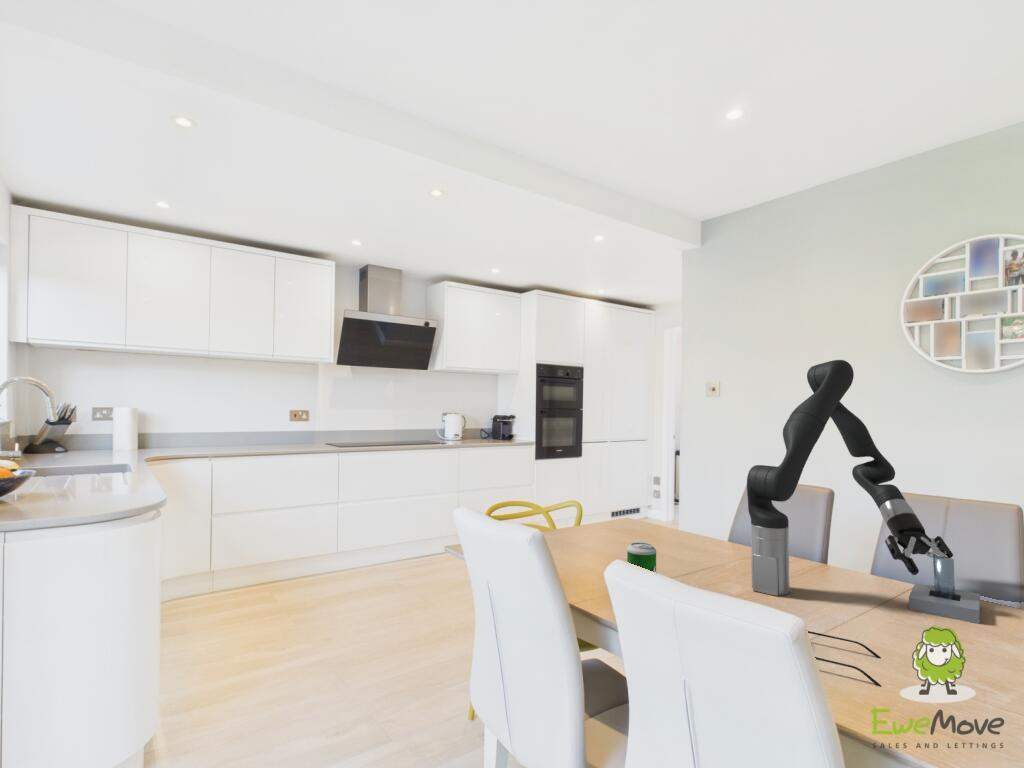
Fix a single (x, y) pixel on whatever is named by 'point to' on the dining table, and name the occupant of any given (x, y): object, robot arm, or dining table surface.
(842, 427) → the robot arm
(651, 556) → the soda can
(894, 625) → the dining table surface
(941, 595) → the steel pin
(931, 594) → the socket stand
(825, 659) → the glasses
